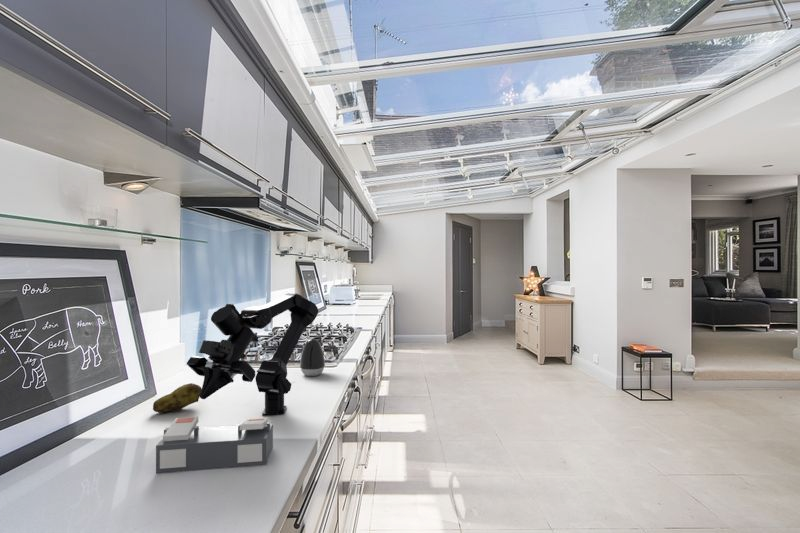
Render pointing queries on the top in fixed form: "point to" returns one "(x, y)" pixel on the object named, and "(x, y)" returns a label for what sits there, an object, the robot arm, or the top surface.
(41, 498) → the top surface
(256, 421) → the rocker switch
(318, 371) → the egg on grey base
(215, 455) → the power strip
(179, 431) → the outlet rocker
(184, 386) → the potato
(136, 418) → the top surface
